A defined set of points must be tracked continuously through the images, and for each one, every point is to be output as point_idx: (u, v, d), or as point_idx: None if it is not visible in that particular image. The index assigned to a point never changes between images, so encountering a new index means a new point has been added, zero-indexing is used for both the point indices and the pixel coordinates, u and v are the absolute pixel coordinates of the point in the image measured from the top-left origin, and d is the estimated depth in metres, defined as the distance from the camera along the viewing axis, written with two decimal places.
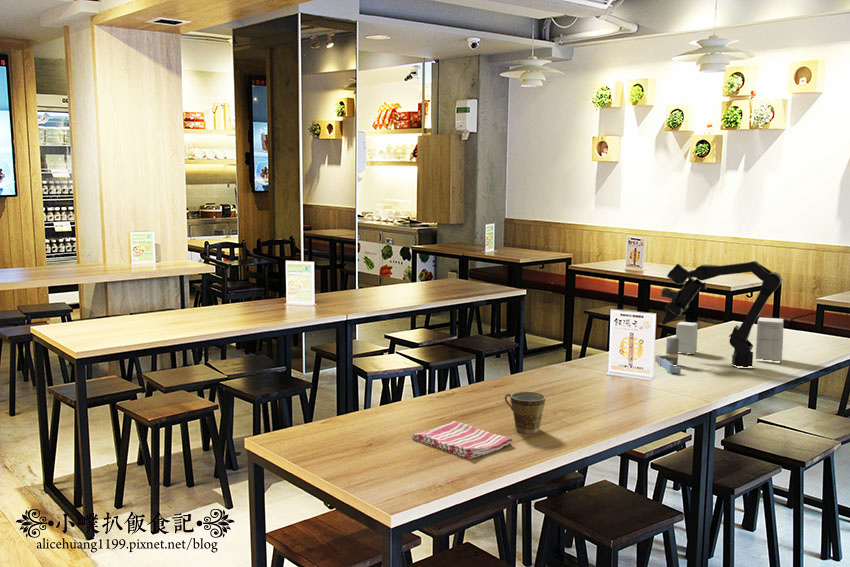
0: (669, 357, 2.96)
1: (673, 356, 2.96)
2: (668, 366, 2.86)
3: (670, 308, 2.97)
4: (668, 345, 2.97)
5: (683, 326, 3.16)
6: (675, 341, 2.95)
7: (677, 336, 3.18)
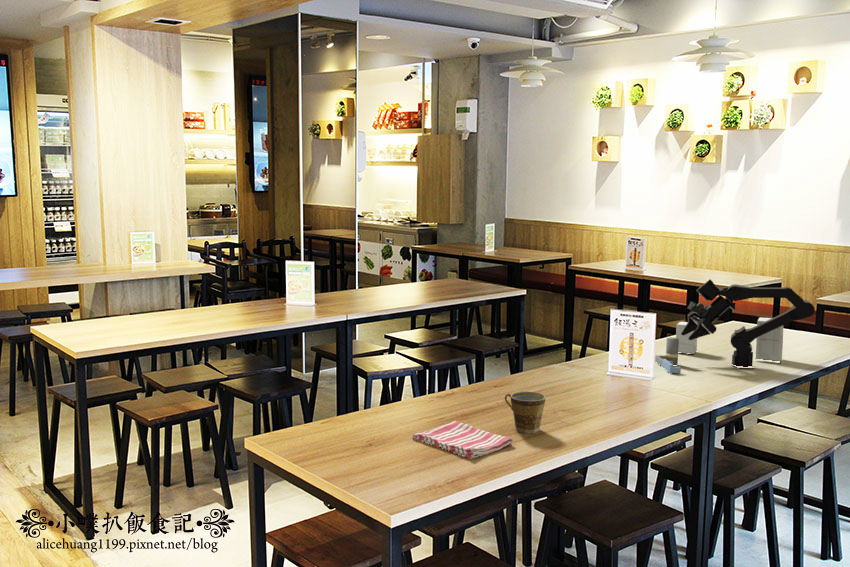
0: (669, 357, 2.96)
1: (673, 356, 2.96)
2: (668, 366, 2.86)
3: (707, 325, 2.87)
4: (668, 345, 2.97)
5: (683, 326, 3.16)
6: (675, 341, 2.95)
7: (677, 336, 3.18)
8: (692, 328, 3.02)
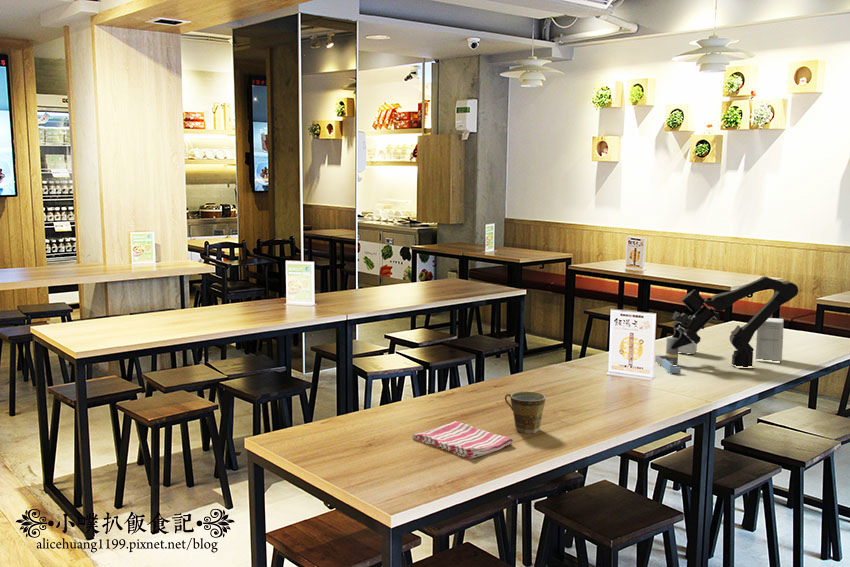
0: (669, 357, 2.96)
1: (673, 356, 2.96)
2: (668, 366, 2.86)
3: (691, 335, 2.88)
4: (668, 345, 2.97)
5: None
6: None
7: None
8: None
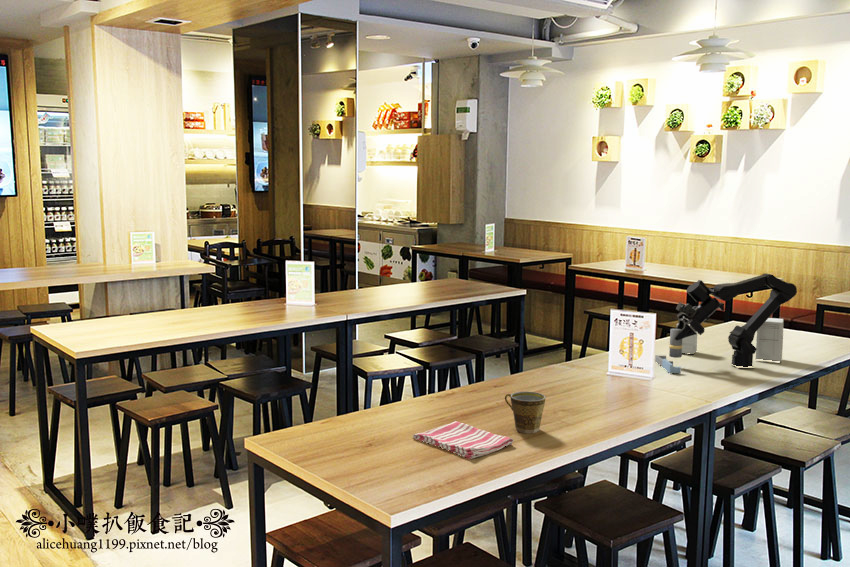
0: (673, 348, 2.92)
1: (677, 347, 2.91)
2: (668, 366, 2.86)
3: (694, 326, 2.83)
4: (672, 336, 2.92)
5: None
6: None
7: None
8: None
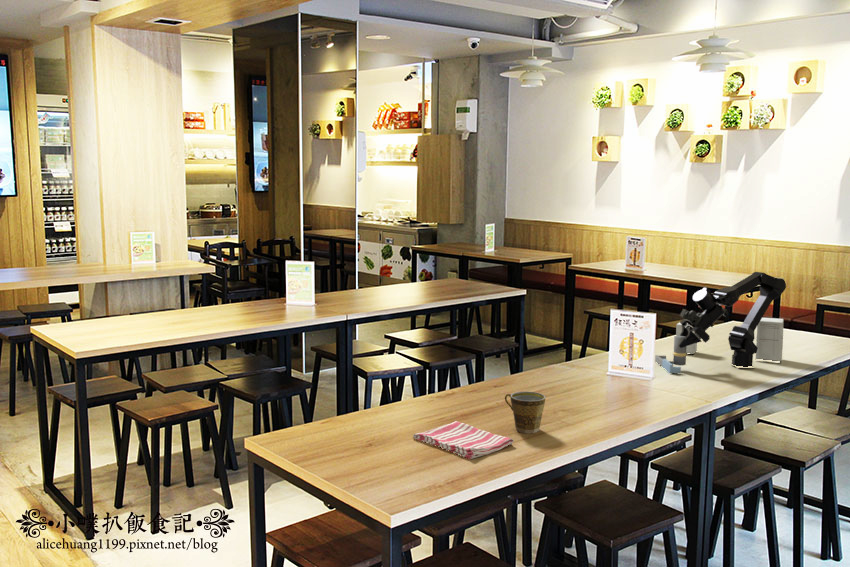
0: (677, 356, 2.87)
1: (681, 355, 2.86)
2: (668, 366, 2.86)
3: (700, 333, 2.78)
4: (676, 344, 2.87)
5: None
6: (683, 339, 2.86)
7: None
8: None
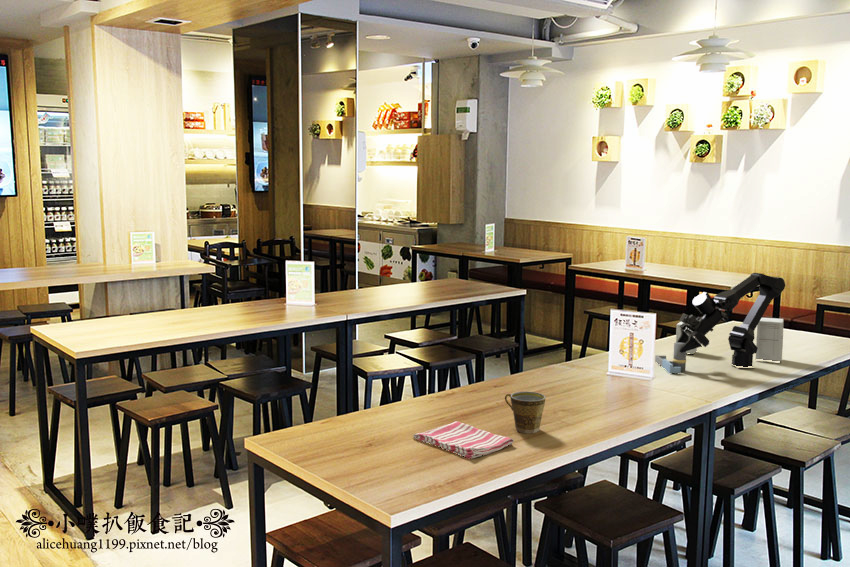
0: (677, 362, 2.87)
1: (681, 361, 2.87)
2: (668, 366, 2.86)
3: (699, 338, 2.78)
4: (675, 350, 2.87)
5: None
6: None
7: (677, 336, 3.18)
8: (685, 341, 2.91)
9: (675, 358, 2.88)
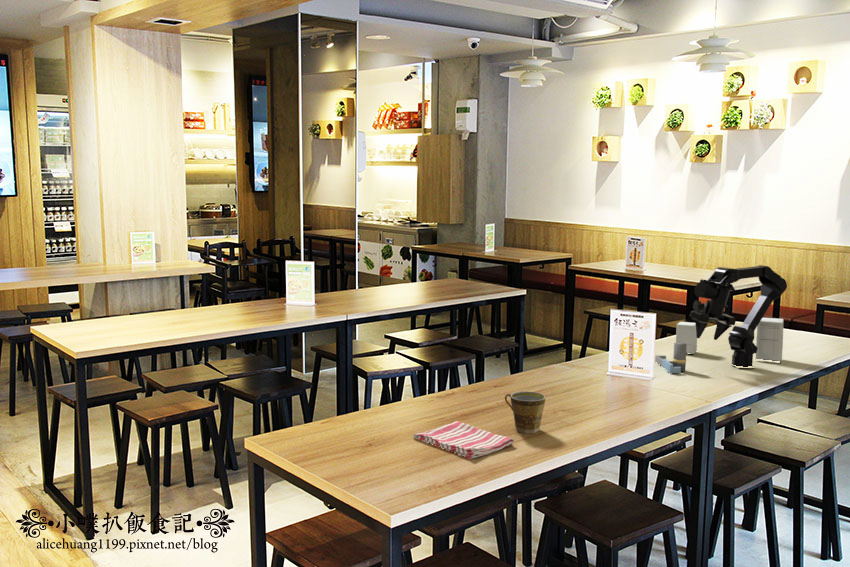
0: (677, 362, 2.87)
1: (681, 361, 2.87)
2: (668, 366, 2.86)
3: (693, 316, 2.86)
4: (675, 350, 2.87)
5: (683, 326, 3.16)
6: (683, 346, 2.86)
7: (677, 336, 3.18)
8: (720, 329, 2.91)
9: (675, 358, 2.88)
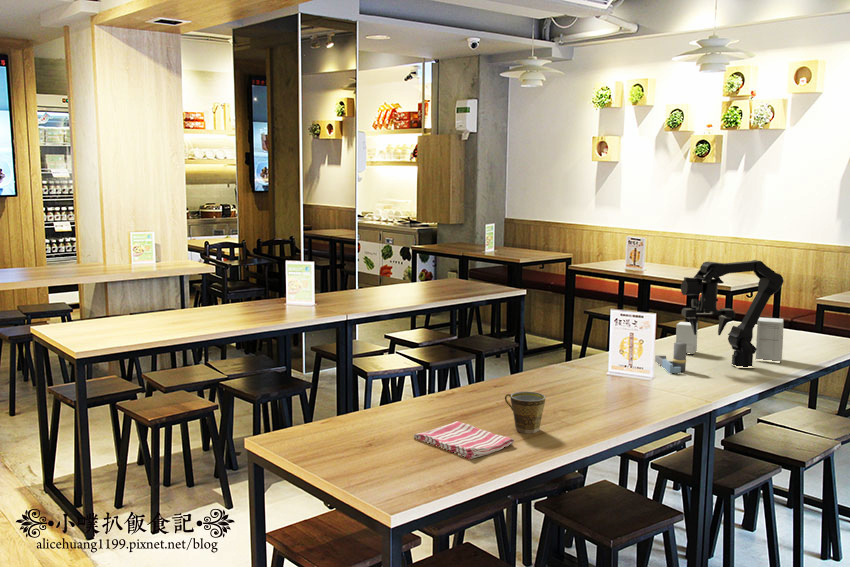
0: (677, 362, 2.87)
1: (681, 361, 2.87)
2: (668, 366, 2.86)
3: (682, 313, 2.92)
4: (675, 350, 2.87)
5: (683, 326, 3.16)
6: (683, 346, 2.86)
7: (677, 336, 3.18)
8: (721, 323, 2.90)
9: (675, 358, 2.88)
